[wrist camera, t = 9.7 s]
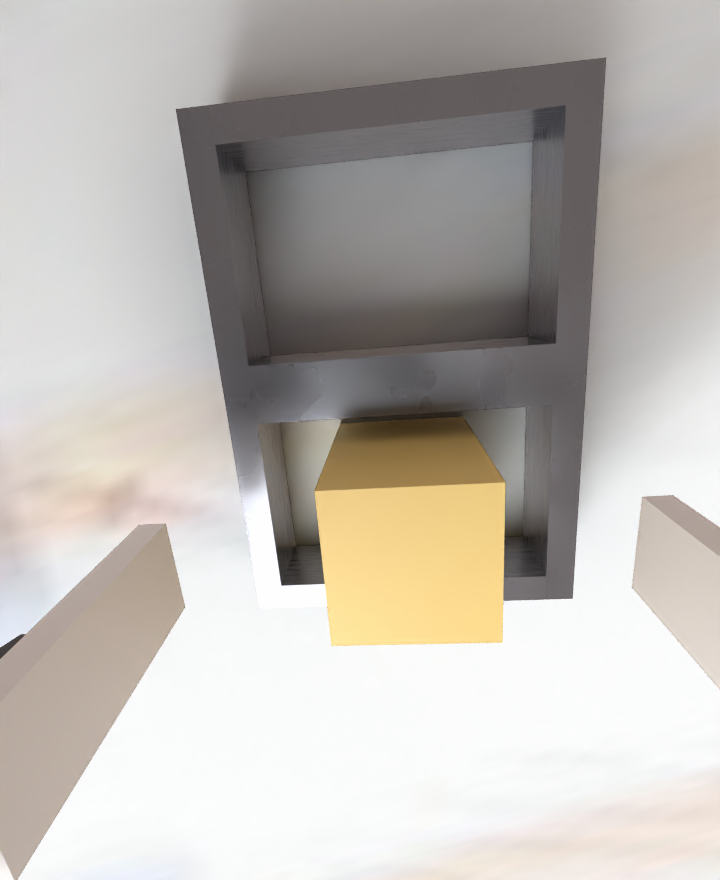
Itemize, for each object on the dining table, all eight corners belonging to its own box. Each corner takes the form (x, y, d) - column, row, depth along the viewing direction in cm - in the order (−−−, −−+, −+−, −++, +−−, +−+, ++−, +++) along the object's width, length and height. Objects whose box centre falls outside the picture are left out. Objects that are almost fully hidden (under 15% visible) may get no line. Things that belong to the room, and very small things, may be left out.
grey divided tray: (213, 143, 16) (176, 109, 13) (564, 103, 15) (606, 57, 12) (277, 566, 21) (259, 608, 18) (546, 555, 20) (572, 598, 17)
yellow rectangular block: (340, 423, 19) (314, 491, 12) (463, 416, 19) (505, 482, 12) (350, 532, 20) (331, 645, 14) (463, 527, 20) (502, 642, 13)
